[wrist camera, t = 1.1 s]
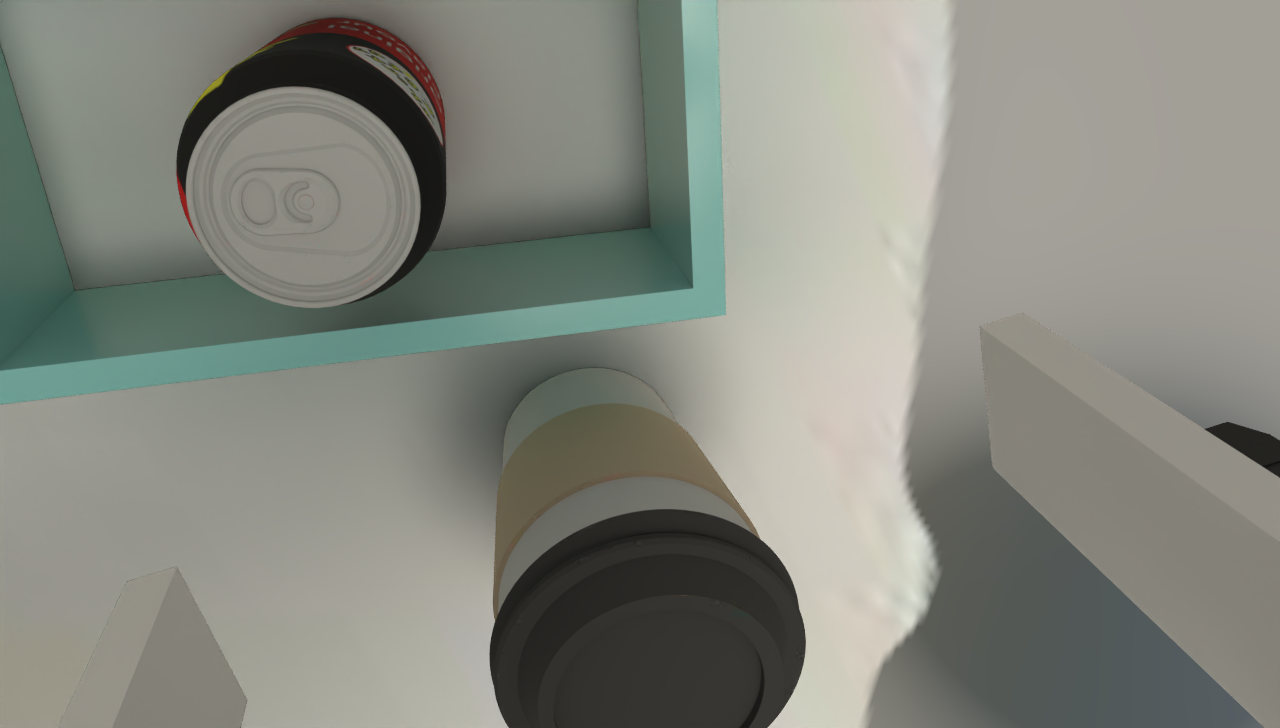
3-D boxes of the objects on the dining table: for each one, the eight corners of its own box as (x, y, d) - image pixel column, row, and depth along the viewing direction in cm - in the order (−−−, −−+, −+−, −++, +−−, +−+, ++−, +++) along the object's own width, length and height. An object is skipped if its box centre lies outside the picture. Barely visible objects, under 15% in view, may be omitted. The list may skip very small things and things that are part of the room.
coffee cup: (492, 326, 38) (521, 550, 24) (722, 353, 40) (867, 572, 26) (461, 534, 41) (472, 834, 27) (676, 548, 43) (784, 833, 29)
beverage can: (449, 205, 36) (453, 326, 25) (261, 209, 35) (179, 338, 24) (439, 16, 33) (439, 59, 22) (237, 14, 32) (133, 58, 21)
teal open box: (52, 321, 35) (-35, 408, 28) (-68, -57, 30) (-205, -53, 24) (678, 250, 38) (725, 314, 31) (661, -103, 33) (714, -111, 27)
